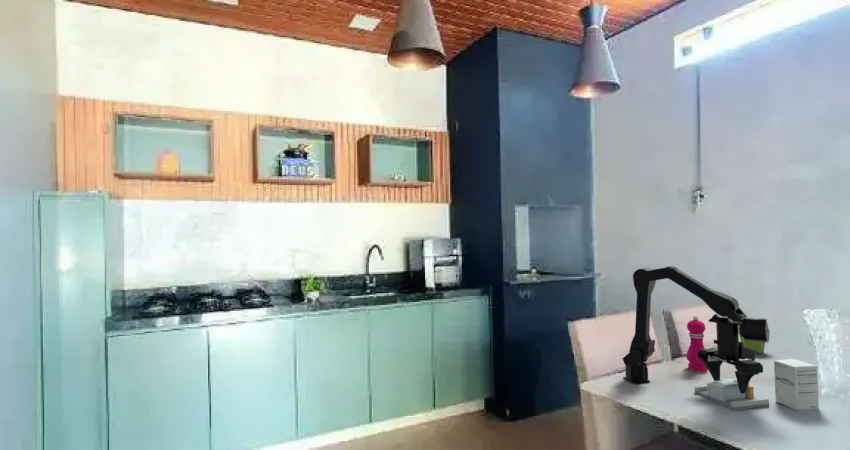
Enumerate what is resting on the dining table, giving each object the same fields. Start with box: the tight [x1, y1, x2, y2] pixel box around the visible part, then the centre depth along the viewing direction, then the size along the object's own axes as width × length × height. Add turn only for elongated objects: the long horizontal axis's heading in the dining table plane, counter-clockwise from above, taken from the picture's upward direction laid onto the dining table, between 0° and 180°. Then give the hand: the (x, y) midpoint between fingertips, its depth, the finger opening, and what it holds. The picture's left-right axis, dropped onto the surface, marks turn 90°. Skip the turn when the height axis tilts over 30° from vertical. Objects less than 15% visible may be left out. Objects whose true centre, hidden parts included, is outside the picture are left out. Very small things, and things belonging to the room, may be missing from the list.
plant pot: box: [738, 325, 770, 354], centre depth 194 cm, size 12×12×11 cm
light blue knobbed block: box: [710, 378, 750, 400], centre depth 141 cm, size 10×4×5 cm, turn 101°
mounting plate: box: [694, 383, 770, 411], centre depth 141 cm, size 12×15×4 cm
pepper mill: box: [685, 315, 709, 372], centre depth 172 cm, size 7×7×20 cm
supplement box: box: [773, 358, 820, 411], centre depth 135 cm, size 7×7×13 cm
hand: (729, 388), depth 141 cm, fingers open, 9 cm apart
